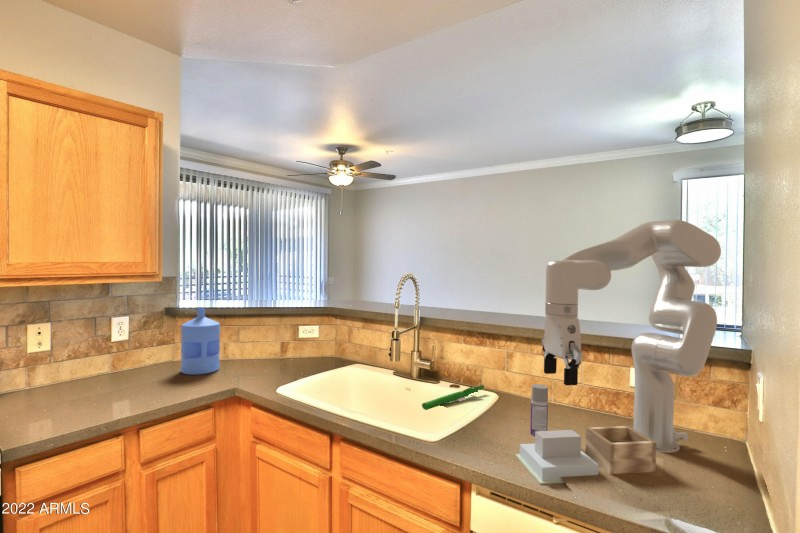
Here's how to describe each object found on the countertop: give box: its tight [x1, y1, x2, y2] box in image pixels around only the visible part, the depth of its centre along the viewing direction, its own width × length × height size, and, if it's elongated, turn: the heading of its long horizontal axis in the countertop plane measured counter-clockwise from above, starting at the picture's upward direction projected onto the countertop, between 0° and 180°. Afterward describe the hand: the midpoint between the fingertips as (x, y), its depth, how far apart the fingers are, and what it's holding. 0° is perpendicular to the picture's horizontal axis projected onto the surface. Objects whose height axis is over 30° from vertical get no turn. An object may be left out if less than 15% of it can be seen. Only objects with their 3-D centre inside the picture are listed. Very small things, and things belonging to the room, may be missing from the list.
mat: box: [514, 453, 567, 485], centre depth 102 cm, size 16×14×1 cm
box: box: [584, 425, 657, 475], centre depth 103 cm, size 12×10×8 cm
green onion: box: [421, 384, 485, 411], centre depth 149 cm, size 5×3×30 cm
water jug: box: [180, 307, 221, 376], centre depth 182 cm, size 16×16×28 cm
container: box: [529, 383, 549, 437], centre depth 119 cm, size 5×5×15 cm
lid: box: [519, 429, 600, 480], centre depth 102 cm, size 14×12×8 cm
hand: (559, 378), depth 102 cm, fingers open, 9 cm apart
